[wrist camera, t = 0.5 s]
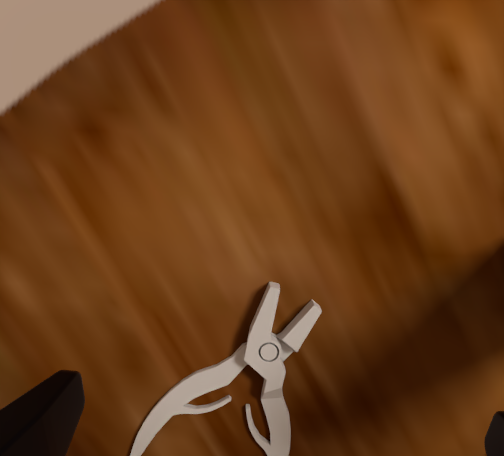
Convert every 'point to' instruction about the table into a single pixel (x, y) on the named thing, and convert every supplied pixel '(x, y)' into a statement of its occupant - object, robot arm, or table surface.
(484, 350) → the table surface
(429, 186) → the table surface
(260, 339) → the pliers
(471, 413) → the table surface
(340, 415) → the table surface
